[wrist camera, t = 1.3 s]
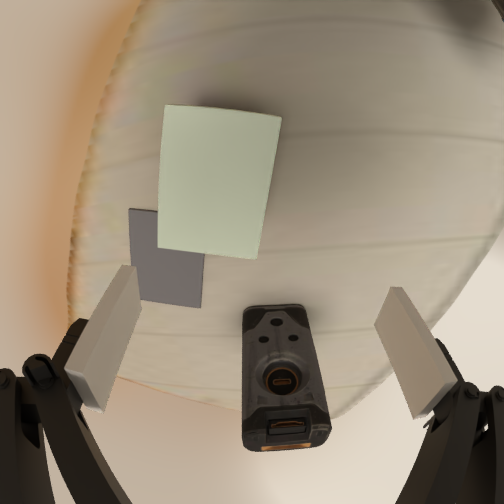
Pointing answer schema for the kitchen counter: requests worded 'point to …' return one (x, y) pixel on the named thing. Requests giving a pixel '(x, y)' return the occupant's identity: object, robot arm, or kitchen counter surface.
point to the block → (215, 179)
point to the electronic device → (281, 381)
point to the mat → (163, 264)
